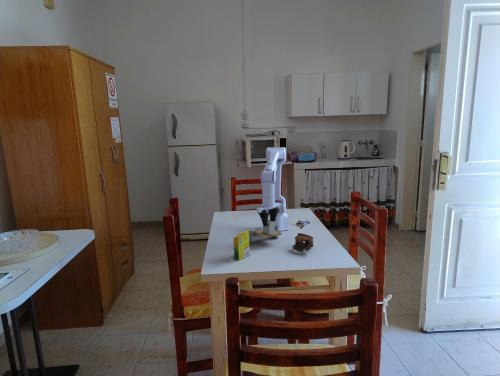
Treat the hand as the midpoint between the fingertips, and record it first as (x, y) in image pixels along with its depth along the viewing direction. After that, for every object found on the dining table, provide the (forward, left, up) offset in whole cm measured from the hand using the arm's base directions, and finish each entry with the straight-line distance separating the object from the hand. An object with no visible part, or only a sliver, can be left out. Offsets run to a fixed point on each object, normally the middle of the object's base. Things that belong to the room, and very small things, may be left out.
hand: (268, 224), depth 156 cm
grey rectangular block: (0, 0, -4) cm, 4 cm away
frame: (0, -6, -10) cm, 12 cm away
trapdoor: (0, -6, -4) cm, 7 cm away
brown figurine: (-8, +15, -11) cm, 20 cm away
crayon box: (+18, +7, -10) cm, 22 cm away
